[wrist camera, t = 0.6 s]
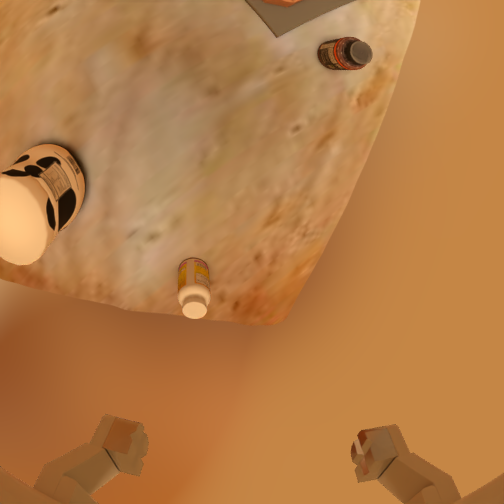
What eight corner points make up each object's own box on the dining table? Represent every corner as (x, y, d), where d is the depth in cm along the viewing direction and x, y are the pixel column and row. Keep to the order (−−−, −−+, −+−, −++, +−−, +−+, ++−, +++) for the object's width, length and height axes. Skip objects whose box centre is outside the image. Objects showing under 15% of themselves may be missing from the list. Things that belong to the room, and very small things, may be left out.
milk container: (18, 205, 45) (-24, 251, 30) (30, 130, 37) (-26, 159, 23) (80, 229, 52) (49, 284, 37) (100, 153, 44) (59, 191, 30)
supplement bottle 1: (181, 282, 64) (180, 323, 54) (176, 258, 60) (173, 300, 50) (210, 278, 65) (213, 320, 54) (206, 255, 61) (209, 296, 51)
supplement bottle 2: (345, 43, 39) (378, 39, 30) (345, 71, 43) (378, 73, 33) (316, 39, 38) (344, 32, 29) (316, 68, 42) (345, 68, 33)
